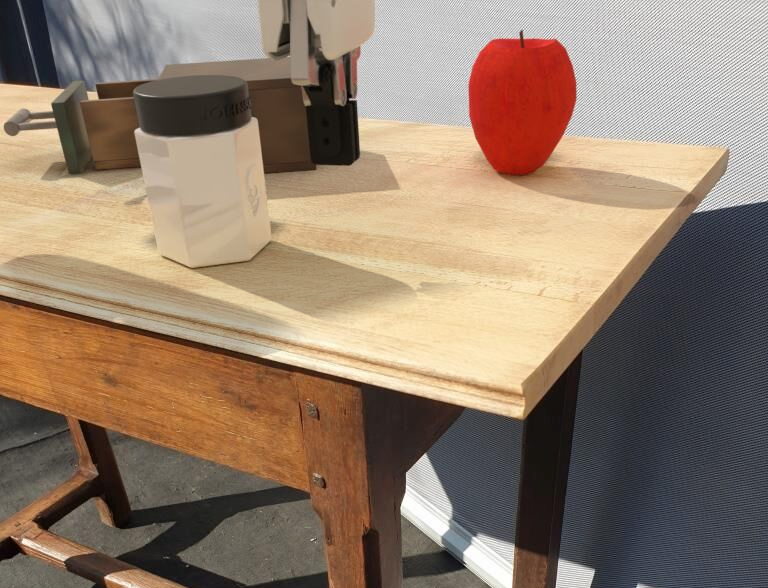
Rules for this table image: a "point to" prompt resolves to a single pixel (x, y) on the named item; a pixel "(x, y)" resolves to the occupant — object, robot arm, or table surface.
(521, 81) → the apple
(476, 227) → the table surface
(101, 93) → the drawer
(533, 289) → the table surface
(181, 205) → the jar
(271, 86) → the cabinet
